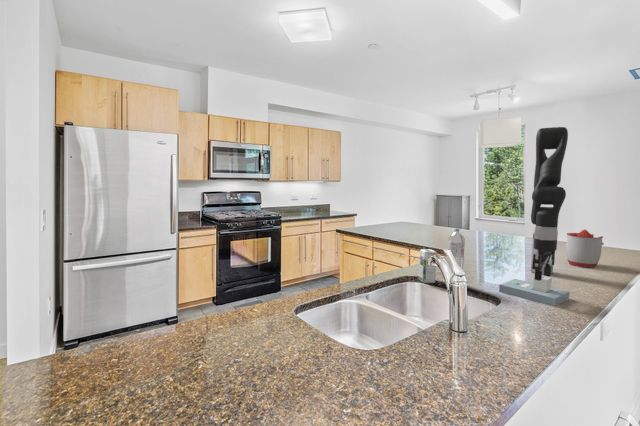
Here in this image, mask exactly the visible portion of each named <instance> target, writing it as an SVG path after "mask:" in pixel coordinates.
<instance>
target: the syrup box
mask: <svg viewBox="0 0 640 426" xmlns="http://www.w3.org/2000/svg"><path fill="white" fill-rule="evenodd" d="M437 253H438V252H437V251H435V250H433V249H430V248H423V249H422V248H421V249H420V251H419V269H418V270H419V271H418V280H419V281H420V282H422V283H423V284H433V283H436V274H437V273H436V272H437V265H436V266H429V265H428V264H427V260H428V259H429V258H430V257H431V256H434V255H438V254H437Z"/></svg>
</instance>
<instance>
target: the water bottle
mask: <svg viewBox="0 0 640 426" xmlns="http://www.w3.org/2000/svg"><path fill="white" fill-rule="evenodd" d="M447 242H448V243H447V244H448V245H447V251H448V250H451V252H452V254H453V256H454V259H455V260H456V262H457V264H458V265H459V266H460V267H461V268H462V269H463V271H464V268H465V266H464V265H465V242H466V238H465V237H464V235H463V234H462V233H460V229H459V228H454V232H452V233H451V234H450V235H449V236H448V237H447Z"/></svg>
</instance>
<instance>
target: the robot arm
mask: <svg viewBox="0 0 640 426" xmlns="http://www.w3.org/2000/svg"><path fill="white" fill-rule="evenodd" d="M568 138H569V132H568V128H567V127H565V126H556V127H555V126H554V127H542V128H539V129H538V130H537V133H536V136H535V167H534V169H535V170H534V176H533V177H534V178H533V191H532V194H531V200H532V207H531V212H530V221H531V223H532V225H535V227H534V232H533V235H532V248H531V249H532V250H531V261H530V262H531V264H530V272H531V273H534V277H535V280H539V281H540V280H542V276H545V277H551V276H552V275H553V274H554V265H555V258H556V257H555V255H556V251H557V249H558V248H557V247H558V235H559V233H558V231H559V230H558V224H559V214H560V212H561V208H562V206H563V203H564V201H565V199H566V197H567V192H566V189H565V188H564V187H562V186H559V185H560V184H561V179H562V166H563V162H564V159H565V154H566V150H567V145H568ZM546 150H555V151H554V152H553V153H552V154H551V155H550V156H549V157H548V156H547V153H546ZM542 205H547V206H542ZM548 205H551V206H548Z"/></svg>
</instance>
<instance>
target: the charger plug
mask: <svg viewBox="0 0 640 426" xmlns="http://www.w3.org/2000/svg"><path fill="white" fill-rule="evenodd" d="M552 280H553V279H552V277H551V276H549V277H548V276H544V275H542V280H540V281H539V280H535V276H534V277H533V281H532V283H533V290H536V291H540V292H544V293H549V292H551V287H552Z"/></svg>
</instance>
